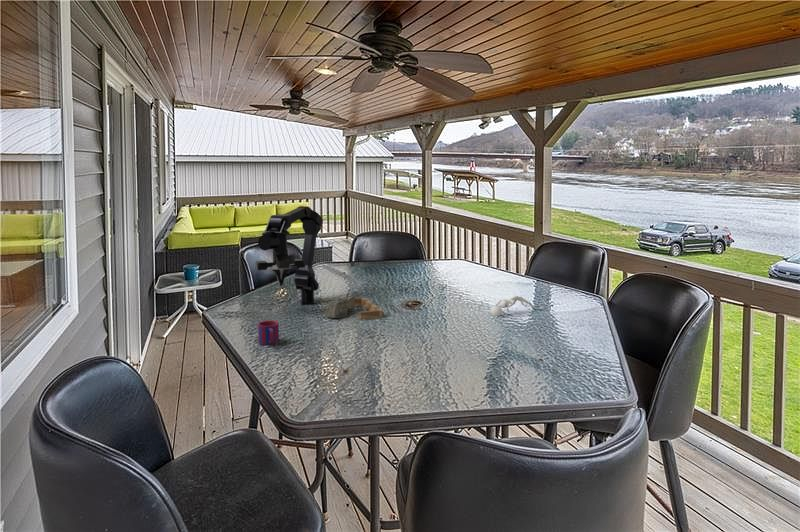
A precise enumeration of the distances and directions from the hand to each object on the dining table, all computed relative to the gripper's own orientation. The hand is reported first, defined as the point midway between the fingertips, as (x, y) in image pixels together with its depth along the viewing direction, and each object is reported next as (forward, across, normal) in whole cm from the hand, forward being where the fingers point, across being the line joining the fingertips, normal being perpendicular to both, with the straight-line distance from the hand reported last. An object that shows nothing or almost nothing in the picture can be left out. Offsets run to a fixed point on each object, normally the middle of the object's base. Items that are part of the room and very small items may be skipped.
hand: (281, 285), depth 208 cm
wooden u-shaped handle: (+12, +31, -8) cm, 34 cm away
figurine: (+13, +92, -31) cm, 97 cm away
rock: (+12, +22, -9) cm, 27 cm away
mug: (+12, -11, -35) cm, 39 cm away
